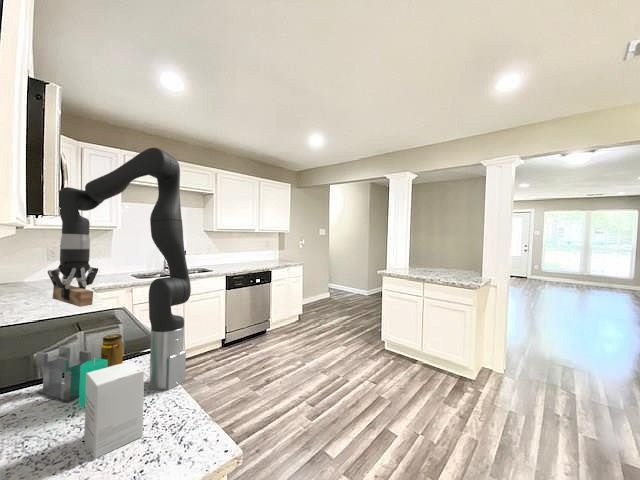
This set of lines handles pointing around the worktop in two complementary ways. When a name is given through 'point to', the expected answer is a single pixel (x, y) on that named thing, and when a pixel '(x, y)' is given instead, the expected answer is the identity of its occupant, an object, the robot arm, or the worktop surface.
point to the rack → (54, 374)
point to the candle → (84, 369)
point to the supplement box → (113, 407)
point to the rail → (75, 296)
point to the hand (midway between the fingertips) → (73, 298)
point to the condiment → (112, 349)
